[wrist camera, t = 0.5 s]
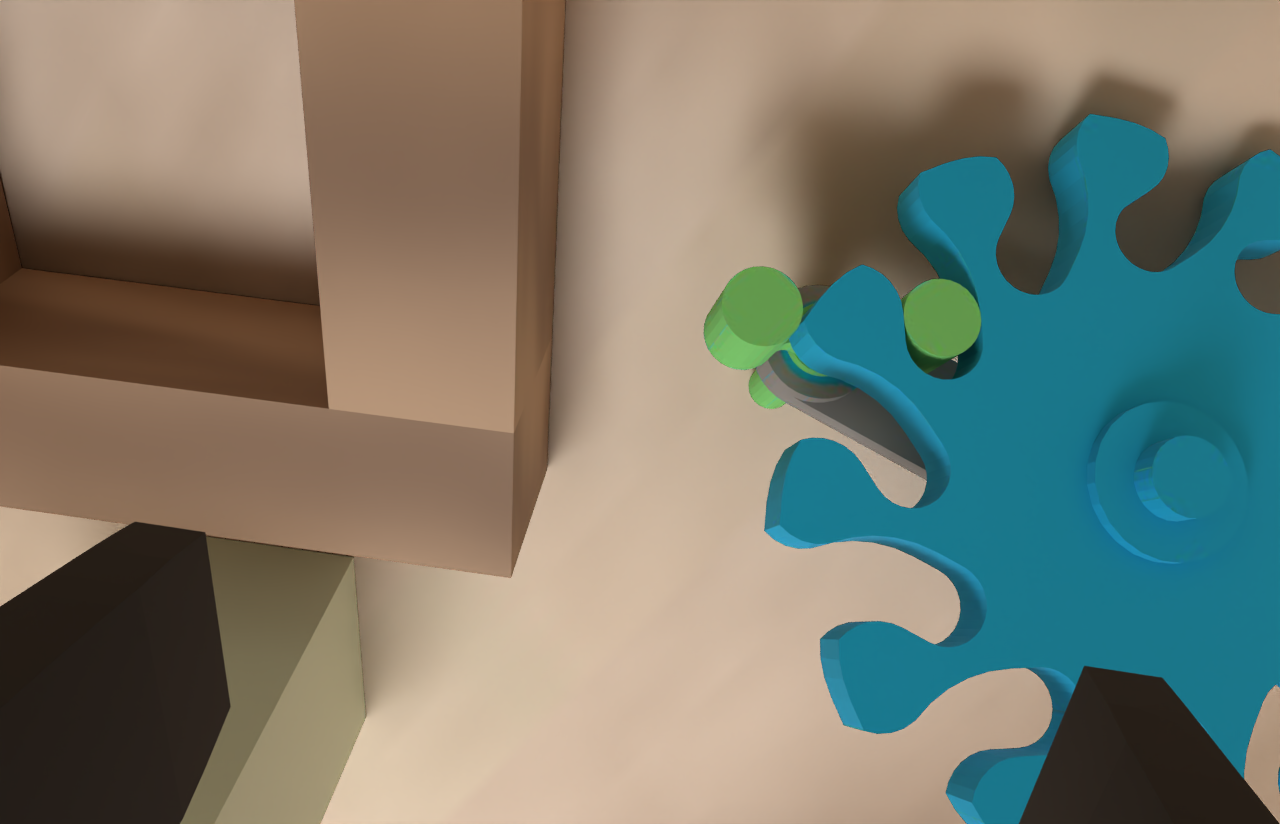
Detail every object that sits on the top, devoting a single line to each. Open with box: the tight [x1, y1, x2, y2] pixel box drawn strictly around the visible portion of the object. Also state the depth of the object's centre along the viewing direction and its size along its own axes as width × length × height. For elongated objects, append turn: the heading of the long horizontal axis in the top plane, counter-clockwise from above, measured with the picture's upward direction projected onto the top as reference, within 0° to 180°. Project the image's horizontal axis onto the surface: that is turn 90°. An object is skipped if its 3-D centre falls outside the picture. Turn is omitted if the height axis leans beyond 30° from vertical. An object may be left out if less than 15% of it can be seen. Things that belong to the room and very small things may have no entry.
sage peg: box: [180, 537, 366, 824], centre depth 20 cm, size 4×4×9 cm
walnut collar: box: [0, 0, 566, 578], centre depth 16 cm, size 12×12×3 cm
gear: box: [704, 114, 1280, 824], centre depth 17 cm, size 11×6×10 cm
